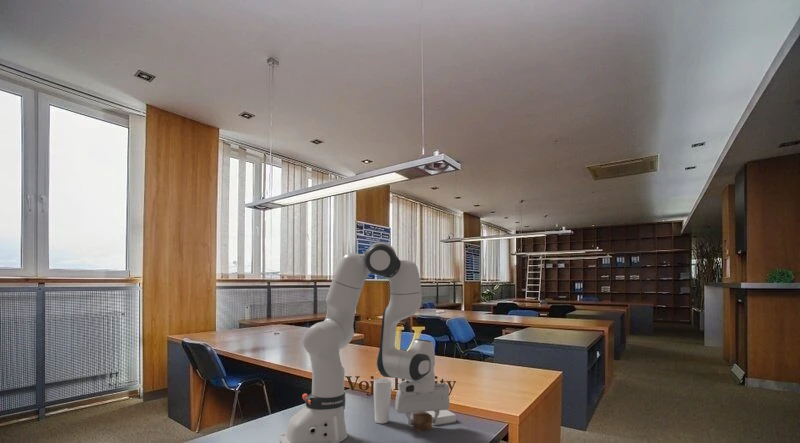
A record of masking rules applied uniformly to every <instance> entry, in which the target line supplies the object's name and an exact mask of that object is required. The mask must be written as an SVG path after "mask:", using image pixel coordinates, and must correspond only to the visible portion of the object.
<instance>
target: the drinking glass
mask: <svg viewBox="0 0 800 443" xmlns="http://www.w3.org/2000/svg"><path fill="white" fill-rule="evenodd" d="M391 397H392V380H391V379H390V378H386V377H384V378H380V377H379V378H375V379H374V380H373V402H374V403H373V405H374V406H373V407H374V421H375V423H377V424H381V425H382V424H387V423H389V421H390V407H391V399H392V398H391Z"/></svg>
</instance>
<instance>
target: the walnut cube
mask: <svg viewBox="0 0 800 443" xmlns="http://www.w3.org/2000/svg"><path fill="white" fill-rule="evenodd" d="M412 413H413V414H412V416H413V418H412V419H413V420H414V422H413V423H414V424H413V425H412V427H413V428H414V429H415V430H416V431H418V433H421V432H425V431H432V430H433V428H432V427H433V425H432V415H430V414H429V413H427V412H426V411H424V412H412Z"/></svg>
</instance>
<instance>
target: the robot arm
mask: <svg viewBox="0 0 800 443" xmlns="http://www.w3.org/2000/svg"><path fill="white" fill-rule="evenodd" d="M370 274H372V275H376V276H379V277H385V278H387V279H388V282H389V291H390V296H389V297H390V298H389V303H388V305H387V306H385V308H384V310H383V314H382V320H381V329H380V339H379V340H380V342H379V349H378V353H377V354H378V355H377V358H376V367H377V370H378V372H379V374H380V375H381V376H382V377H384V378H393V379H394V378H395V379H401V380H402V381H399V382H398V388H399V389H398V390H397V392H396V394H395V400H394V409H395V411H396V412H397V414H405V416H406V417H407V419H408V423H407V424H408V426H413V424H414V423H413V422H414V420H413V418H411V416H412V414H411V413H417V412H424V411H434V412H435V414H434V416H433V417H432V423H436V418H437V417H438V415H439V410H448V411H449V408H450V406H451V404H450V396H449V393H450V386H449V385H448V384H447V383H445V382H442V383H440V382H439V383H438V382H436V378H435V377H436V375H435V365H436V352H435V347H434V343H433V342H432V341H431V340H429V339H422V338H421V339H419V338H415V339H413V341H412V345H411V347H410V349H408V350H403V349H398V348H397V347H396V344H395V343H396V336H397V335H396V334H397V326H398V323H400V322H401V321H402V320H406V319H407V318H410V317H412V316H414V315H415V314H416V313H417V312H418V311H420V308H421V307H422V301H423V300H422V298H423V297H422V286H421V278H420V273H419V269H418V266H417V264H416V263H415V262H413V261H410V260H405V259H404V260H402V259H399V257H398V256H397V253H396V250H395V249H394V247H393V246H392V245H391V244H389V243H388V242H387V243H386V242H382V241H379V242H375V243H373V244H371V245H370V246H369V247H368V248H367V249H366V250H364V252H363V253H361V254H360V253H356V252H349V253H345V254H344V255H343V256H342V258H341V259H340V261H339V263H338V265H337V268H336V270H335V272H334V274H333V277H332V279H331V283H330V286H329V289H328V293H327V294H326V298H325V304H326V314H325V315H326V316H325V319H324V320H323V321H319V322H316V323H314V324H313V325H311V326H310V327H309V328H308V329H307V330H306V331H305V332H304V334H303V338H302V344H303V347H304V349H305V350H306V352H307V353H308V356H309V358H310V359H309V360H310V363H311V371H312V372H311V375H312V376H311V377H312V379H311V380H312V381H311V393H310V394H307V393H303V394H302V396H301V398H302V399H303V401H304V402H305V406H304V407H302V408H301V409H300V410H299V411H298V412H296V413H295V414H294V415H292V416H291V417H290V419H289V421H288V423H287V424H288V425H287V428H286V431H283V432H282V433H281V434H280V436H279V443H341V442H343V441H344V440H345V439H347V437H348V435H349V434H348V431H347V426H346V419H345V409H346V408H345V407H346V392H345V377H346V376H345V373H346V372H345V368H344V366H343V365H342V361H341V355H340V350H341V349H343V348H345V347H347V346H348V345H349V343H350V342H352V340H353V338H354V335H355V330H354V322H355V314H356V309H357V306H358V303H359V300H360V297H361V294H362V290H363V287H364V285H365V281H366V279H367V278H368V276H369V275H370Z"/></svg>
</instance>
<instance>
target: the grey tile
mask: <svg viewBox="0 0 800 443" xmlns="http://www.w3.org/2000/svg"><path fill="white" fill-rule="evenodd" d="M426 412H427V413H429V414H430V415H432V417H433V416H434V414H435V412H434V411H426ZM456 421H457V414H455V413H454V412H452V411H450V410H449V409H448V410H439V415H438V417H437V418H436V423H432V426H437V425H444V424H450V423H456Z"/></svg>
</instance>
